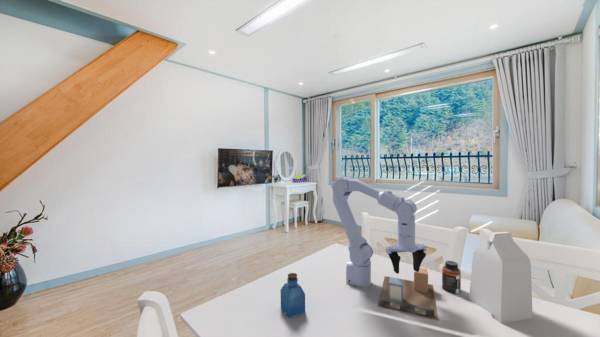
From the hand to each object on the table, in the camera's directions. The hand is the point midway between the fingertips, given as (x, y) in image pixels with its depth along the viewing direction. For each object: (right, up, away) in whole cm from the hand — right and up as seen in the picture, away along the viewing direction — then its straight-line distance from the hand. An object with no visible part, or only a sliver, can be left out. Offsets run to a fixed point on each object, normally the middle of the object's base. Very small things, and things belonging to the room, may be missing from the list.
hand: (406, 271), depth 89 cm
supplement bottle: (+19, -10, +4) cm, 22 cm away
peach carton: (+8, -9, +5) cm, 13 cm away
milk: (+28, -10, -6) cm, 31 cm away
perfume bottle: (-41, -11, -5) cm, 43 cm away
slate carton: (-5, -9, -3) cm, 11 cm away
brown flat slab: (+1, -10, +1) cm, 10 cm away
